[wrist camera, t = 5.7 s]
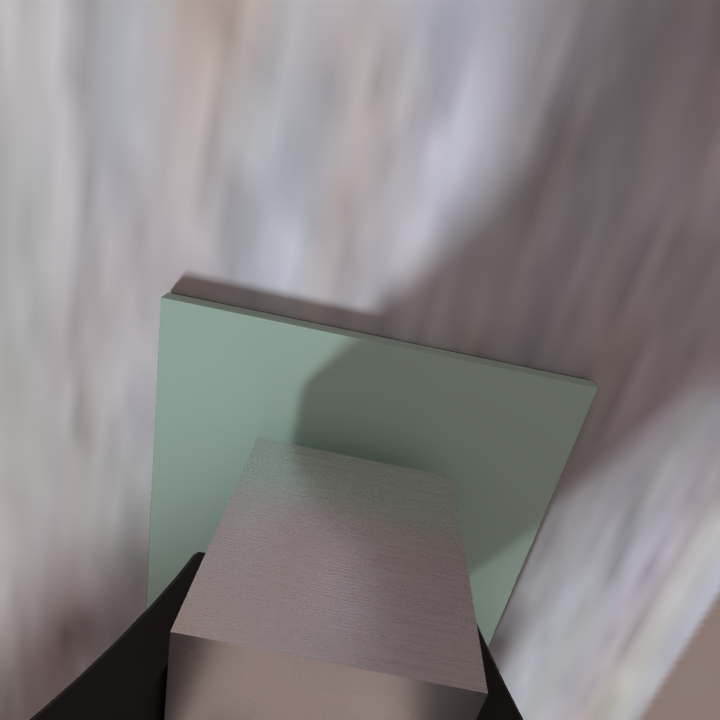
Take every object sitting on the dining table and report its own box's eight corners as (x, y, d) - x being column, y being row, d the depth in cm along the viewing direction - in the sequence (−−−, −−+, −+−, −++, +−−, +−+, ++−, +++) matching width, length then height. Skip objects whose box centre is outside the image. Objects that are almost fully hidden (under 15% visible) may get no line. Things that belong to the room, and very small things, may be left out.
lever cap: (394, 653, 14) (393, 960, 9) (232, 621, 14) (135, 912, 9) (453, 476, 12) (497, 756, 7) (257, 436, 12) (145, 687, 7)
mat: (472, 667, 16) (473, 679, 16) (151, 604, 16) (145, 615, 16) (591, 381, 12) (597, 388, 12) (168, 292, 12) (160, 297, 12)
